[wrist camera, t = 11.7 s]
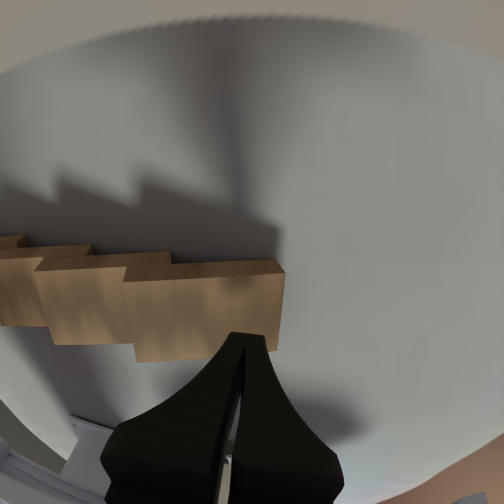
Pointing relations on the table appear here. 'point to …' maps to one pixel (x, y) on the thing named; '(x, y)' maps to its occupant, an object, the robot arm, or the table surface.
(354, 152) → the table surface
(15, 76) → the table surface
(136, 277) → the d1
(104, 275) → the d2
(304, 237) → the table surface
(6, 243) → the d4
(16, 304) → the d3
